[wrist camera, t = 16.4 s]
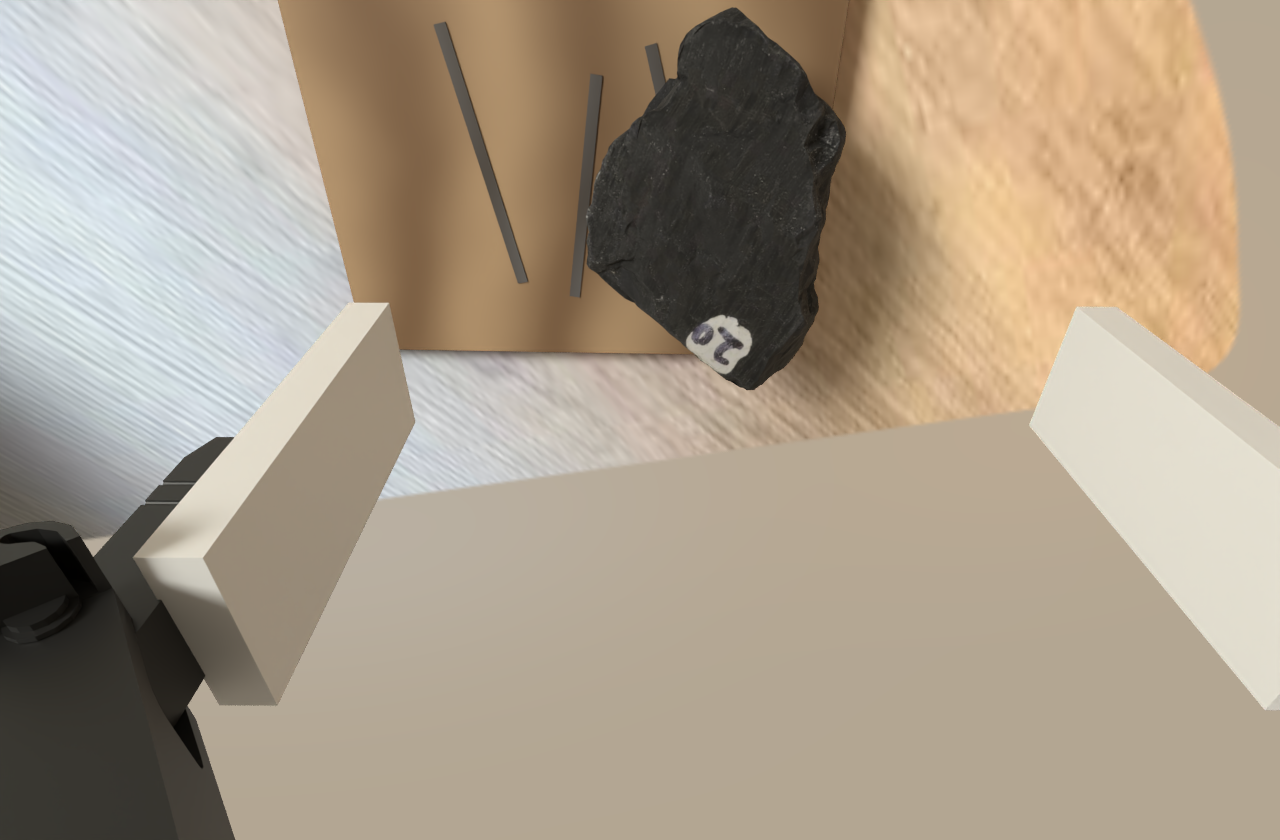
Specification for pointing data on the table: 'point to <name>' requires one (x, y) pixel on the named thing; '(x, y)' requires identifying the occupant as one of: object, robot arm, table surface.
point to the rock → (721, 201)
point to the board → (499, 151)
